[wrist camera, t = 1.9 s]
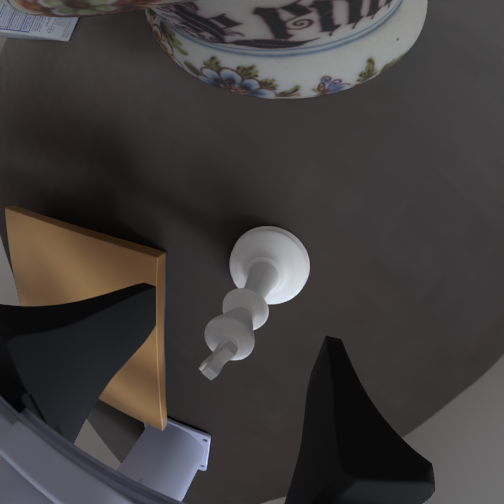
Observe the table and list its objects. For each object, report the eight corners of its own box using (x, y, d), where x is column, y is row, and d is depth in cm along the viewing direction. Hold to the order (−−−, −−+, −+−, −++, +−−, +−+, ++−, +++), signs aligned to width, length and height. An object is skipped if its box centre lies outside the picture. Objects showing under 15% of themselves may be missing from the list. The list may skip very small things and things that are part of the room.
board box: (180, 402, 25) (162, 431, 22) (57, 339, 28) (35, 357, 25) (189, 236, 19) (157, 257, 16) (36, 197, 22) (4, 207, 18)
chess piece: (216, 263, 19) (126, 356, 10) (266, 208, 17) (192, 279, 8) (271, 313, 19) (222, 433, 10) (326, 266, 17) (316, 385, 8)
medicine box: (90, -1, 15) (15, -25, 7) (69, 43, 16) (-11, 31, 8) (47, 3, 15) (-16, -10, 7) (30, 41, 17) (-36, 35, 9)
